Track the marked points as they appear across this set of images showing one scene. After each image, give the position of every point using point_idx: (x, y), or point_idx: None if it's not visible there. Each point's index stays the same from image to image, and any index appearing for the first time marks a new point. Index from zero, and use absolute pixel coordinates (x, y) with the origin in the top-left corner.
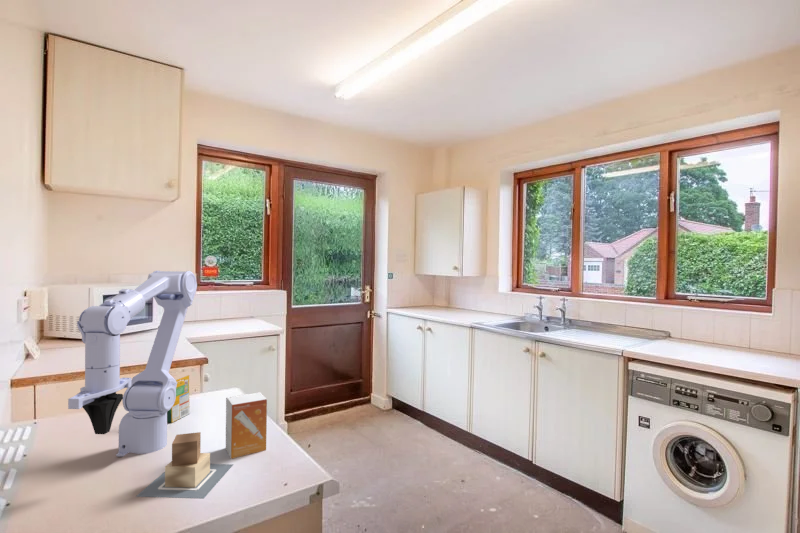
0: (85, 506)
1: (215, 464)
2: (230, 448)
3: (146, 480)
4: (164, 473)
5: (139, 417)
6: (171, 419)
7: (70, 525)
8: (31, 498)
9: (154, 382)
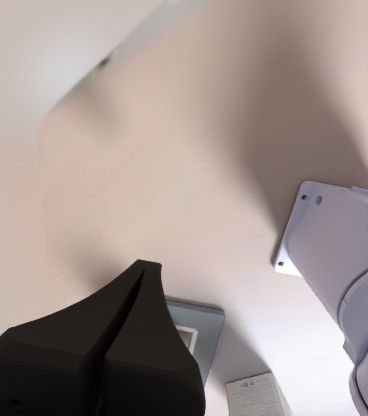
0: (96, 223)
1: (206, 373)
2: (232, 407)
3: (177, 282)
4: (184, 311)
5: (344, 298)
6: None
7: (46, 228)
8: (125, 99)
9: None
